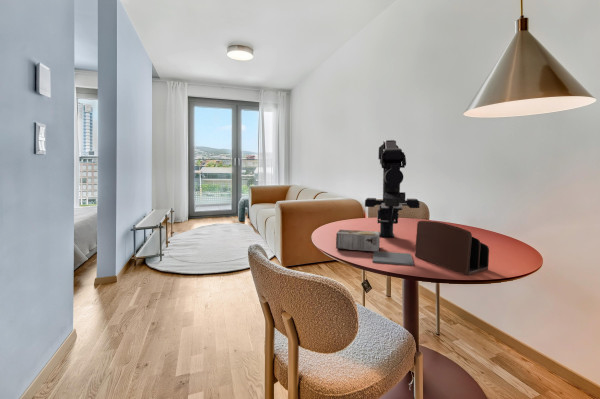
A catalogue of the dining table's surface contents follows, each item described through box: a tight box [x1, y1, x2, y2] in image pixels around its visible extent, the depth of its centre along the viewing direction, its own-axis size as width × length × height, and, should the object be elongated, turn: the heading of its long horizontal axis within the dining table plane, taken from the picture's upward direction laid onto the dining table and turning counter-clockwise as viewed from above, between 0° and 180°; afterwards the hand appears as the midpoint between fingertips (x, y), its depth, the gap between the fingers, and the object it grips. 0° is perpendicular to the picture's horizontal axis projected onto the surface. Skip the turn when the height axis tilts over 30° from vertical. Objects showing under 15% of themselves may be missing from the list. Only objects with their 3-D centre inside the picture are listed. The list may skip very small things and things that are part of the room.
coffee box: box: [335, 229, 381, 252], centre depth 111 cm, size 9×6×16 cm
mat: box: [372, 251, 415, 267], centre depth 99 cm, size 11×13×1 cm
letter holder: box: [414, 220, 490, 276], centre depth 93 cm, size 10×20×14 cm, turn 25°
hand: (390, 225), depth 105 cm, fingers closed
